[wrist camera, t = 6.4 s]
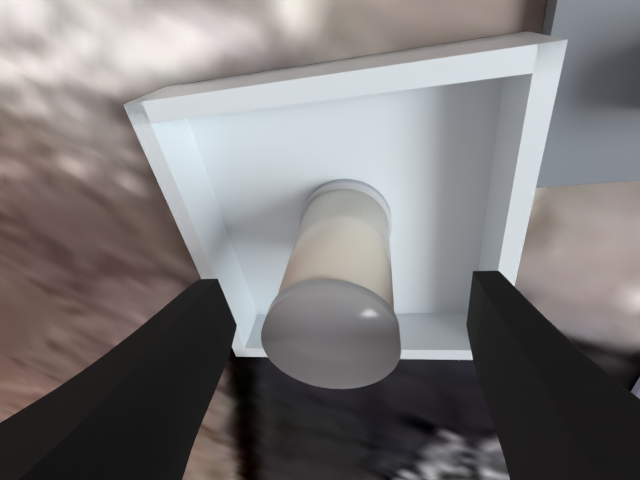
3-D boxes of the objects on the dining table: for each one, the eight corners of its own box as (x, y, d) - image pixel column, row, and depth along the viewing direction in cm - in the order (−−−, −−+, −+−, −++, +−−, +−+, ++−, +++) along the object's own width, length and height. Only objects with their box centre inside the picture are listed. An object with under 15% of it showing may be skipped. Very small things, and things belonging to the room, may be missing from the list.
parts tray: (482, 313, 16) (498, 360, 14) (251, 316, 18) (236, 356, 16) (526, 31, 10) (567, 39, 8) (166, 86, 12) (123, 104, 10)
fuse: (389, 255, 14) (397, 393, 9) (306, 254, 14) (272, 384, 10) (392, 177, 12) (405, 300, 7) (297, 179, 12) (248, 294, 8)
